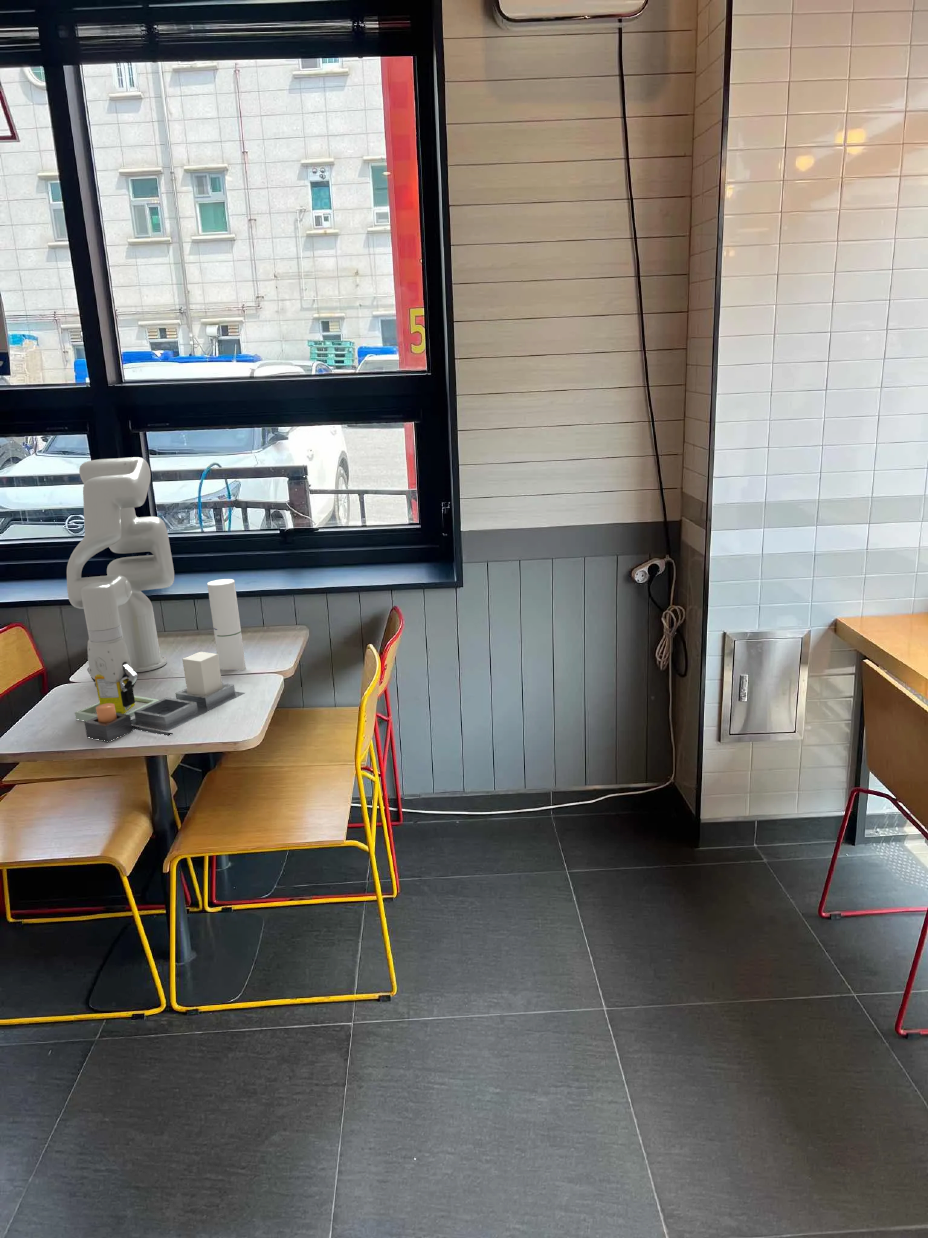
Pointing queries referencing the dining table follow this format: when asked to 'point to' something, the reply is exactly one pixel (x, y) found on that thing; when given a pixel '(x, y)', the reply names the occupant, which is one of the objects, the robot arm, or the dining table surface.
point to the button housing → (108, 728)
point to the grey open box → (180, 709)
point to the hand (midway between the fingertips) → (117, 702)
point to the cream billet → (202, 673)
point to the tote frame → (88, 712)
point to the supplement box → (111, 694)
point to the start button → (106, 713)
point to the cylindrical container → (226, 624)
